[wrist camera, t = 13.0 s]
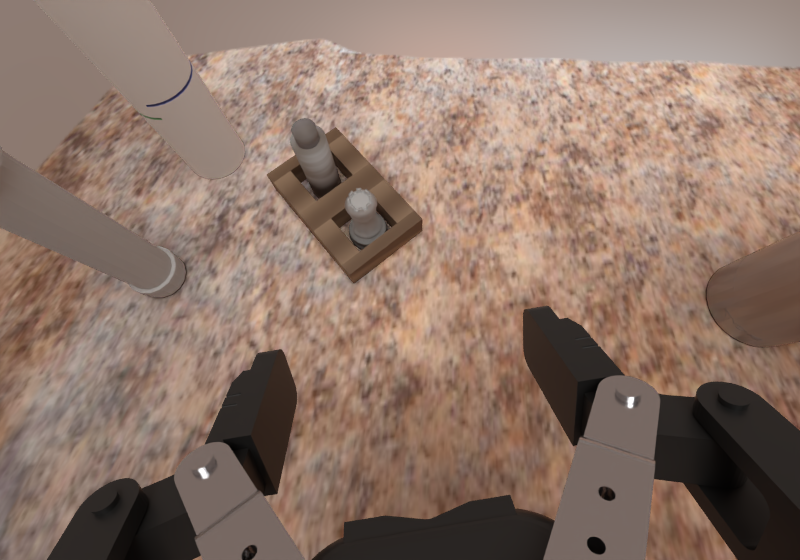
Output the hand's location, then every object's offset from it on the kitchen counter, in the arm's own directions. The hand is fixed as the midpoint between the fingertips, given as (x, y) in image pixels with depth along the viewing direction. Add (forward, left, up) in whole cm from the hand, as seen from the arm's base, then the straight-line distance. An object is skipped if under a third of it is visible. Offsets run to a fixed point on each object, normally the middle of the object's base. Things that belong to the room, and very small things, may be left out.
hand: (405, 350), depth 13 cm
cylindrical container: (+1, -38, -29) cm, 48 cm away
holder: (-7, -21, -29) cm, 37 cm away
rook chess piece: (-7, -17, -29) cm, 35 cm away
